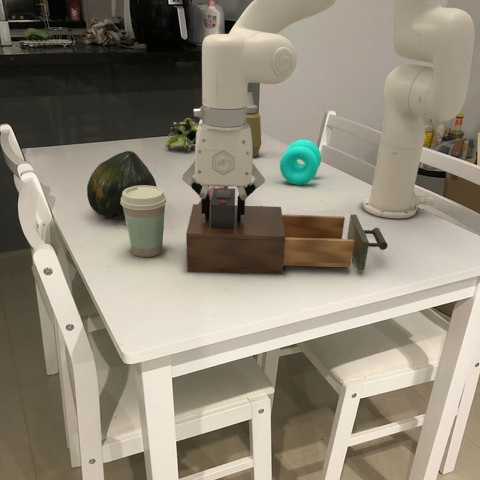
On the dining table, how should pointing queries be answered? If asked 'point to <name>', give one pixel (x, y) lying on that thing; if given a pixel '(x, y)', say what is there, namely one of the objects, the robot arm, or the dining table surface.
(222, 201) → the red button box
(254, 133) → the squeeze bottle
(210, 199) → the video game controller
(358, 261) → the drawer
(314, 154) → the donuts
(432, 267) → the dining table surface
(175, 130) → the green leafy plant
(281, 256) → the cabinet
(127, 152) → the squash
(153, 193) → the coffee cup
